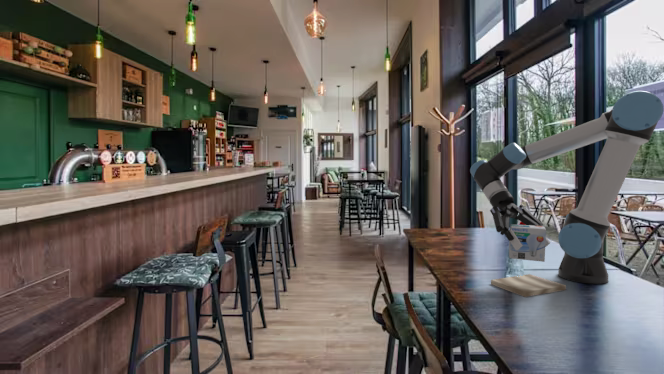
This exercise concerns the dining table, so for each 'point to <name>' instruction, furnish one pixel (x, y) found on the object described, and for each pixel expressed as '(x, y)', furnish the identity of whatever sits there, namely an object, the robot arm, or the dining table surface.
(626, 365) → the dining table surface
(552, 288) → the birch board
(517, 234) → the light bulb box
